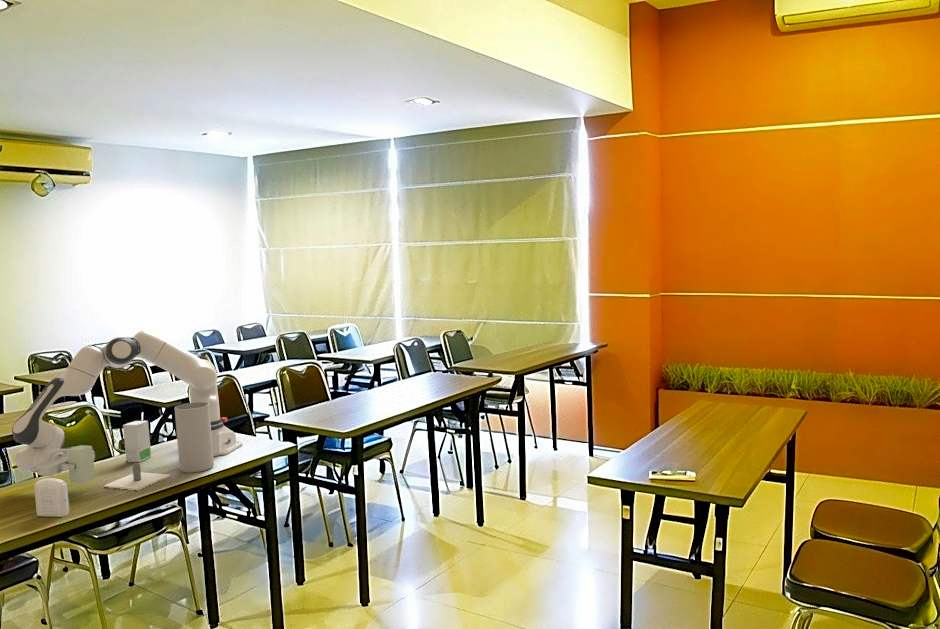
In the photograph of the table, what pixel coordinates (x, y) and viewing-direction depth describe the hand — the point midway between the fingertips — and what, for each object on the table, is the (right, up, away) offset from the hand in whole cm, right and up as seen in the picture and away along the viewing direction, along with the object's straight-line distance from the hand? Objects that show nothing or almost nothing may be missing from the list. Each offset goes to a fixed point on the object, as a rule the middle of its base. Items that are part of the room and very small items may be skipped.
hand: (83, 463), depth 258 cm
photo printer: (0, -13, -19) cm, 23 cm away
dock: (+14, -9, +12) cm, 21 cm away
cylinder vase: (+31, -7, +26) cm, 41 cm away
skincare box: (0, -7, +42) cm, 43 cm away
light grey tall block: (-1, -6, +1) cm, 6 cm away
